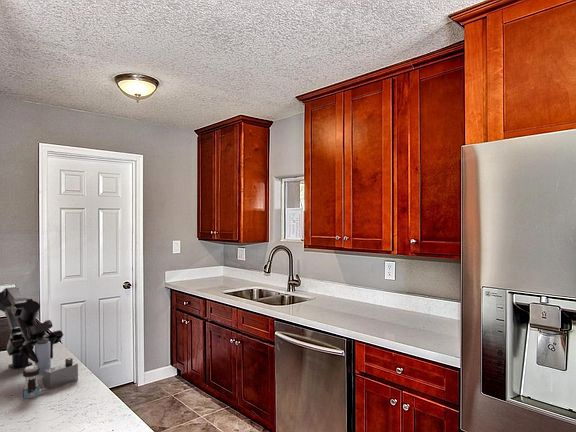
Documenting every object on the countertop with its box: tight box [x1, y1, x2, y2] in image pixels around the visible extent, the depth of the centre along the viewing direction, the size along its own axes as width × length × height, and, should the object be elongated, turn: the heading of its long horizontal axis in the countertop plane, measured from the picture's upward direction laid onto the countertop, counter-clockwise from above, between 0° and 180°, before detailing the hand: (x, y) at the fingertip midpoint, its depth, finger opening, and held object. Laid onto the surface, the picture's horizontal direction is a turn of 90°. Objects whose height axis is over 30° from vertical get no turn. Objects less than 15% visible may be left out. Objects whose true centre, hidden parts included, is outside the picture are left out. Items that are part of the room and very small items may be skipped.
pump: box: [34, 338, 52, 375], centre depth 162 cm, size 5×5×14 cm
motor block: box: [37, 357, 79, 390], centre depth 156 cm, size 9×10×8 cm
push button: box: [21, 364, 46, 400], centre depth 144 cm, size 7×5×10 cm
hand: (44, 360), depth 161 cm, fingers closed on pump, 5 cm apart
